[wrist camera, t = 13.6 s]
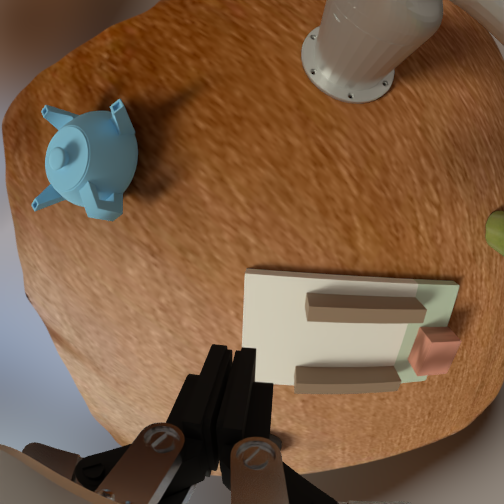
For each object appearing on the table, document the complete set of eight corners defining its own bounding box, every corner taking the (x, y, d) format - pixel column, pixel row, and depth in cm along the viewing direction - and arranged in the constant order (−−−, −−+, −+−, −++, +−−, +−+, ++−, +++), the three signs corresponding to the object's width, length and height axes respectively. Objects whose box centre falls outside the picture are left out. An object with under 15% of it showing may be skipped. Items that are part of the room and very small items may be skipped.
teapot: (64, 202, 38) (17, 213, 28) (76, 111, 34) (30, 103, 23) (138, 217, 37) (94, 232, 27) (155, 111, 33) (114, 93, 23)
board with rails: (246, 268, 37) (240, 285, 32) (453, 280, 35) (473, 295, 29) (242, 373, 42) (237, 398, 37) (421, 373, 40) (433, 394, 34)
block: (419, 327, 35) (431, 342, 31) (448, 326, 35) (461, 340, 30) (407, 359, 37) (417, 376, 33) (435, 357, 36) (446, 373, 32)
